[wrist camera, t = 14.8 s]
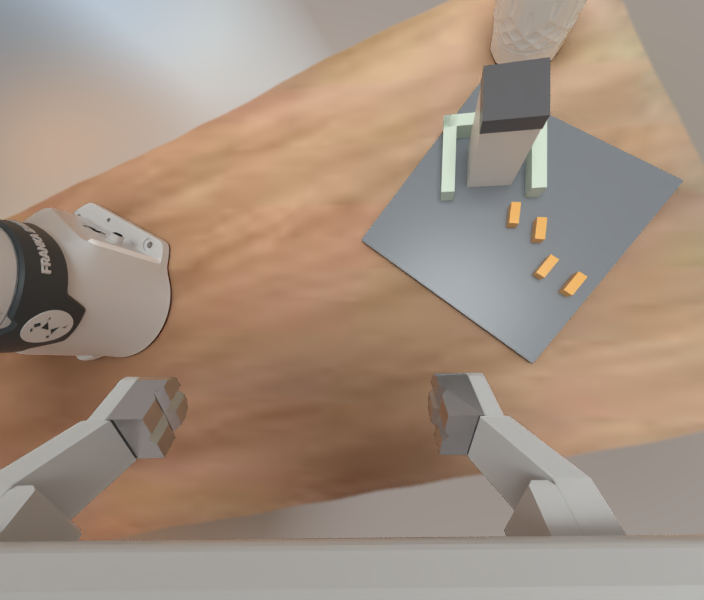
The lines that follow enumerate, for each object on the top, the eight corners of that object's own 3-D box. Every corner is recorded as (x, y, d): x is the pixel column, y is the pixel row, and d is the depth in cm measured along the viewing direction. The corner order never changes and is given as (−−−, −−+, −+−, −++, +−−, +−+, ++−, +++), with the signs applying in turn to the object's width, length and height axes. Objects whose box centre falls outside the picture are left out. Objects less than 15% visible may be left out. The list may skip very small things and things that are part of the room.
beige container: (466, 187, 31) (482, 121, 21) (467, 148, 31) (483, 65, 22) (511, 185, 30) (550, 114, 20) (512, 145, 30) (550, 56, 21)
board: (362, 242, 34) (358, 236, 32) (479, 87, 33) (483, 71, 31) (530, 362, 29) (537, 364, 27) (676, 184, 28) (695, 173, 26)
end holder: (539, 196, 29) (546, 187, 27) (440, 200, 32) (441, 191, 30) (539, 119, 30) (547, 104, 28) (443, 128, 32) (444, 115, 30)
